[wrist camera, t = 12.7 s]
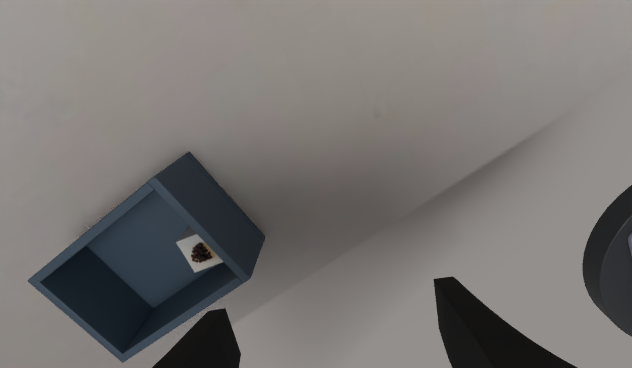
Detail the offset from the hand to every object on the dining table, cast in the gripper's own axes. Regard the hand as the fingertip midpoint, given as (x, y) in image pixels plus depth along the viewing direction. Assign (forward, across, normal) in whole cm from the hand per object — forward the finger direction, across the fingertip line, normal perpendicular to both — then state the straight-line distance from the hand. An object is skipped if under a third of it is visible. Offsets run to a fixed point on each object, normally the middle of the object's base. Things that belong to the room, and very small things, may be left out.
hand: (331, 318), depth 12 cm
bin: (+10, +11, +1) cm, 15 cm away
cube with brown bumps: (+10, +8, +1) cm, 13 cm away
